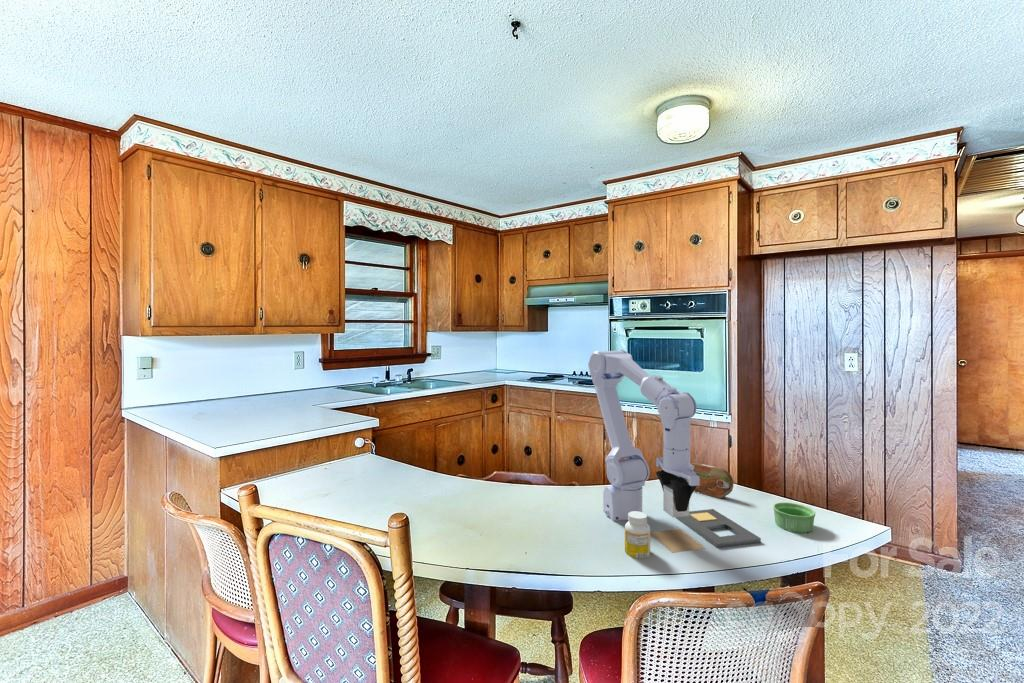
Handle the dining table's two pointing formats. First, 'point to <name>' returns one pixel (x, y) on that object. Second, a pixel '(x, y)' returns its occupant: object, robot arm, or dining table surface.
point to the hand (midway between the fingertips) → (676, 506)
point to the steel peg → (671, 502)
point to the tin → (713, 480)
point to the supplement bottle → (637, 535)
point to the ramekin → (794, 517)
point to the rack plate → (714, 520)
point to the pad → (676, 540)
